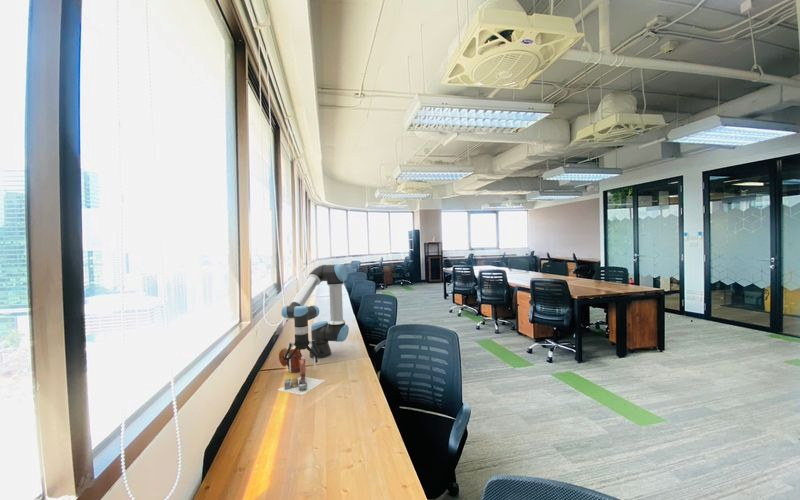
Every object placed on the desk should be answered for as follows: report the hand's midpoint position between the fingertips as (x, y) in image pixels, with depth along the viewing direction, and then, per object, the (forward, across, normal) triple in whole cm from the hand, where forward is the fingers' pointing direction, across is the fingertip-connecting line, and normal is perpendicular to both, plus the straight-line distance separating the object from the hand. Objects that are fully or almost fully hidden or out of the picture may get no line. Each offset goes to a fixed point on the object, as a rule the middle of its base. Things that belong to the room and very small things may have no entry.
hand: (302, 369), depth 186 cm
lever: (+5, 0, -7) cm, 9 cm away
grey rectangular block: (+6, -8, -8) cm, 13 cm away
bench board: (+7, 0, -8) cm, 10 cm away
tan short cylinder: (+6, -4, -8) cm, 11 cm away
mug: (+7, -7, +17) cm, 19 cm away
